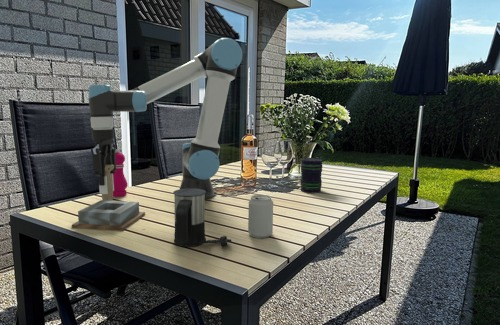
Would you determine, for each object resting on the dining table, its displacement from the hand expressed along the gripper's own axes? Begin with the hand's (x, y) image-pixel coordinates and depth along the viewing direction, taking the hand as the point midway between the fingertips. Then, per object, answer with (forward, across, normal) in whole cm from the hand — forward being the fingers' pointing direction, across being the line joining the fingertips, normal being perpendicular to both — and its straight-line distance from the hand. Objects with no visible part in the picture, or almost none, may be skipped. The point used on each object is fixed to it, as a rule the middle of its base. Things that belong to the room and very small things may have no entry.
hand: (107, 192), depth 133 cm
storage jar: (+9, -46, +76) cm, 89 cm away
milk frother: (+8, +27, +43) cm, 51 cm away
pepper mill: (+7, -22, -7) cm, 24 cm away
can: (+8, +17, +58) cm, 61 cm away
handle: (+5, 0, 0) cm, 5 cm away
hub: (+7, +12, +7) cm, 16 cm away
